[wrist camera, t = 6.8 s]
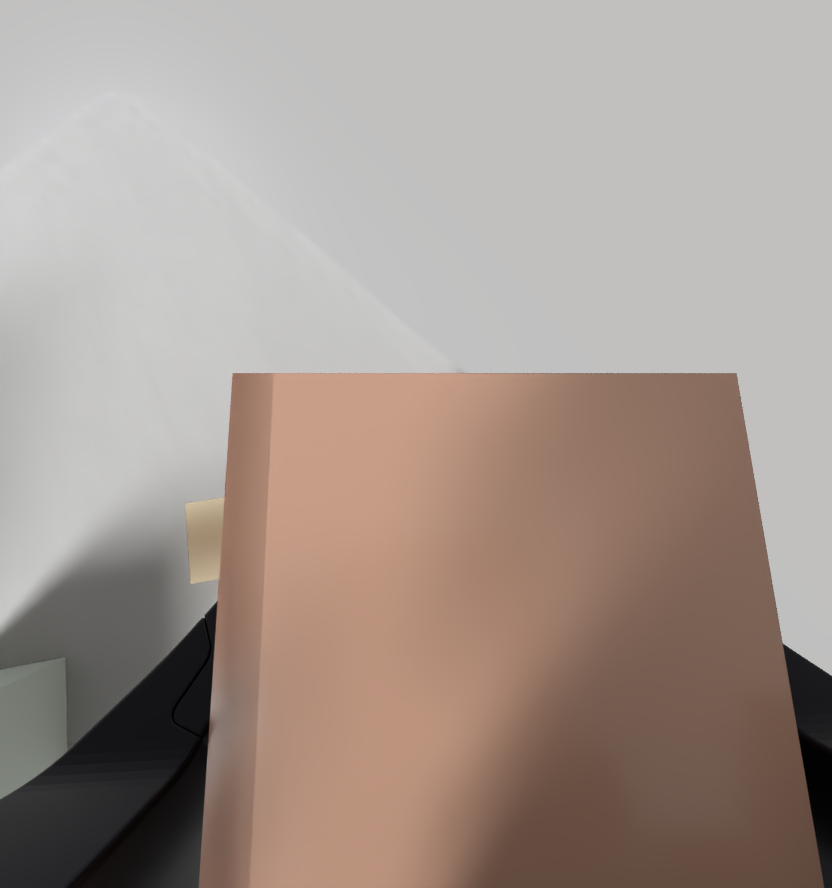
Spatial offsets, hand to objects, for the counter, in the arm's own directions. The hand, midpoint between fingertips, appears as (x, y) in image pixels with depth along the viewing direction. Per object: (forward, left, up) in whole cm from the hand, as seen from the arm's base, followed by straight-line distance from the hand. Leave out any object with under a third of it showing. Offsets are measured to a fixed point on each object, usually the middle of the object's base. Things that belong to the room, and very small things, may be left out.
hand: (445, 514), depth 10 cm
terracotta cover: (-1, -1, -7) cm, 7 cm away
